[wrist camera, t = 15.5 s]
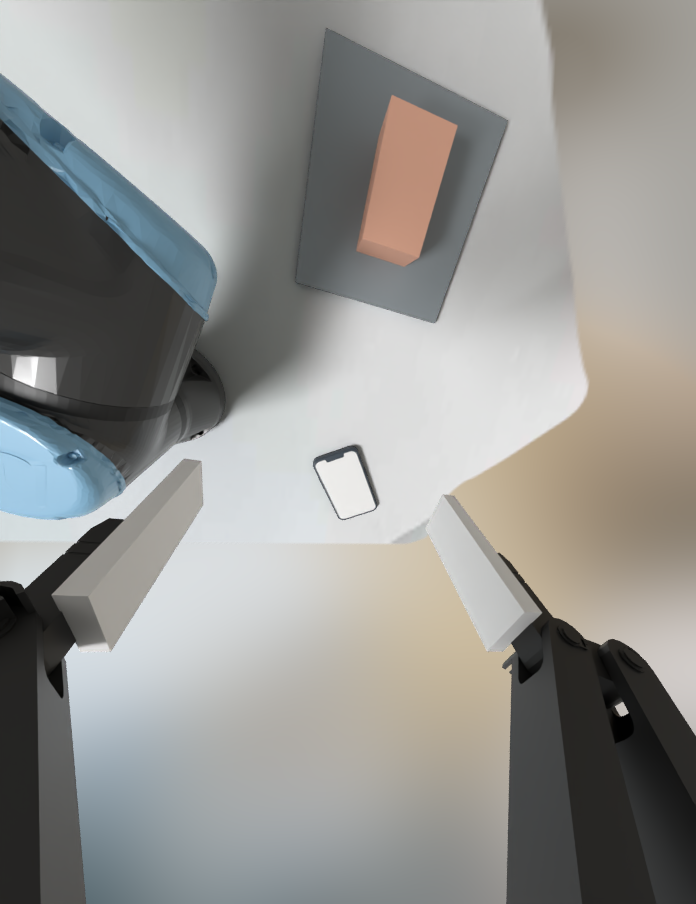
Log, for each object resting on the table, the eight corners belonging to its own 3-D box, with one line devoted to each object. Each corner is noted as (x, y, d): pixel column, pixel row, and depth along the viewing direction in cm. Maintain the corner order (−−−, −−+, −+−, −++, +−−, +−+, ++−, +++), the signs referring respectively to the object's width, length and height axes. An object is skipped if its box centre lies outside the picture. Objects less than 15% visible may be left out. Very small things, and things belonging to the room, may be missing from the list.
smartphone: (377, 504, 53) (355, 442, 45) (379, 509, 51) (356, 446, 43) (339, 516, 53) (310, 458, 45) (339, 522, 52) (310, 462, 44)
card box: (378, 135, 26) (391, 94, 21) (433, 159, 27) (457, 125, 23) (356, 251, 31) (362, 238, 26) (404, 266, 32) (419, 257, 27)
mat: (295, 282, 32) (295, 281, 32) (325, 36, 23) (326, 27, 23) (432, 323, 36) (435, 323, 35) (503, 125, 27) (507, 120, 27)
